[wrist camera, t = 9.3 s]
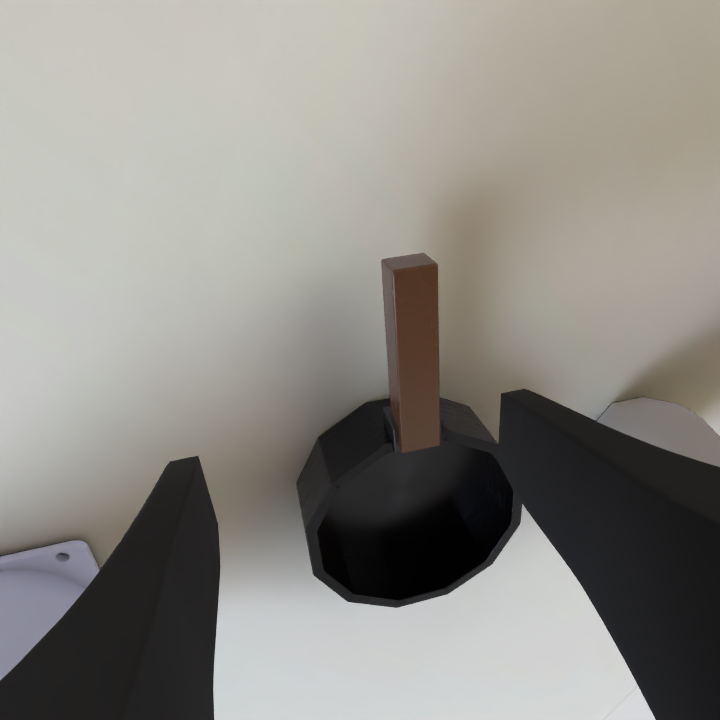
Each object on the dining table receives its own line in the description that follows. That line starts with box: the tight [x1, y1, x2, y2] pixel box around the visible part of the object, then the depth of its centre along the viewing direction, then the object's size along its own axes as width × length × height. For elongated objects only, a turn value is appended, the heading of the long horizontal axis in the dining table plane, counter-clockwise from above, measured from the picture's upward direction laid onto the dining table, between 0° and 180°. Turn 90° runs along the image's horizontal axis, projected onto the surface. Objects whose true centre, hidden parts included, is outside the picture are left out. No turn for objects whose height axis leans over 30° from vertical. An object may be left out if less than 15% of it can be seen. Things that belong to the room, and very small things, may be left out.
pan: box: [296, 253, 522, 608], centre depth 23 cm, size 17×10×4 cm, turn 5°
